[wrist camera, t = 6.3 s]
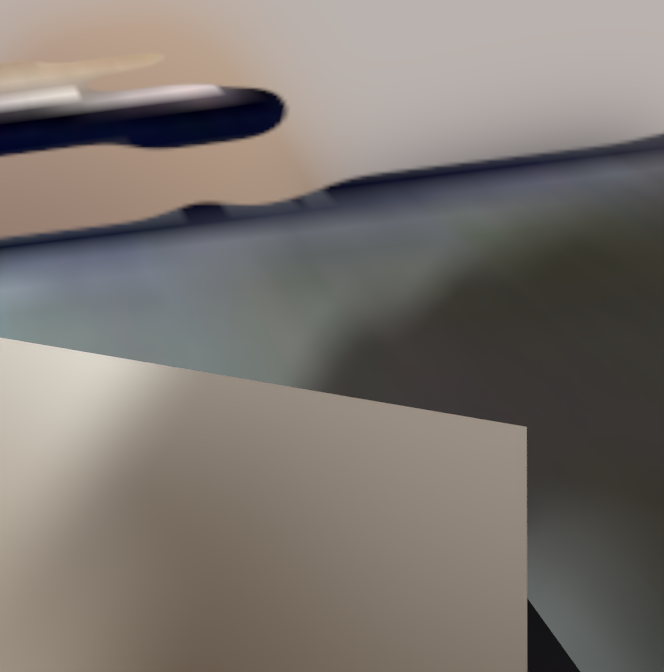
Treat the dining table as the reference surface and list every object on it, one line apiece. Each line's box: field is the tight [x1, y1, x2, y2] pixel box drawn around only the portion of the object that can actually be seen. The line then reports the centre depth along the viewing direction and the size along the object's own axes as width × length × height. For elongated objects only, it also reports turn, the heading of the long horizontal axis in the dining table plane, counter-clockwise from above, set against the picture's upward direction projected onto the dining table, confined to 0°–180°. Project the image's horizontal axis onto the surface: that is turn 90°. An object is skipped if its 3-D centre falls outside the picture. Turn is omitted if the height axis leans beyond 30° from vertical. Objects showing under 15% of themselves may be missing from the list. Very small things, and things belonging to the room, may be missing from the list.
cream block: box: [0, 338, 527, 672], centre depth 8 cm, size 6×6×13 cm
